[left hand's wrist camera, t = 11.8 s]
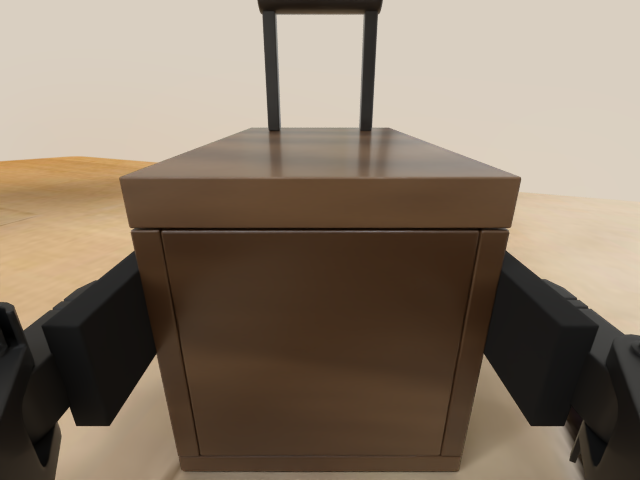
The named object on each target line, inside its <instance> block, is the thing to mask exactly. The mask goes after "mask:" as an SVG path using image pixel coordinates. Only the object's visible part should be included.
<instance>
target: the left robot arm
mask: <svg viewBox="0 0 640 480" xmlns="http://www.w3.org/2000/svg"><path fill="white" fill-rule="evenodd" d="M156 354H157V353H156V348H155V343H154V339H153V334H152V329H151V324H150V320H149V315H148V310H147V306H146V301H145V296H144V291H143V287H142V282H141V277H140V273H139V269H138V264H137V259H136V255H135V251H133V252H132V253H131V254H130V255H129V256H127V257H126V258H125V259H124V260H122V261H121V262H120V263H119V264H117V265H116V266H115V267H114V268H112V269H111V270H110V271H109V272H107V273H106V274H105V275H104V276H102V277H101V278H100V279H99V280H95V281H93V282H91V283H89V284H87V285H85V286H83V287H81V288H79V289H77V290H75V291H74V292H73V293H72V294H70V295H69V296H68V297H66V298H65V299H64V301H61V302H60V303H59V304H57V305H56V306H55V307H53V310H50V311H48V312H47V313H46V314H44V315H43V316H42V317H41V318H39V319H38V320H37V321H35V322H34V323H33V324H32V325H30V326H29V327H28V328H26V329H25V330H24V331H23V329H22V326H21V324H20V321H19V318H18V316H17V313H16V310H15V308H14V306H13V305H11V304H9V303H7V302H0V480H55V474H56V468H57V462H58V456H59V449H60V443H61V431H60V427H59V425H58V422H57V421H58V420H59V419H60V418H61V416H62V415H63V414H64V413H65V412H66V410H67V409H68V408H69V407H70V409H71V412H72V415H73V418H74V421H75V424H76V426H110V425H111V423H112V421H113V420H114V418H115V417H116V415H117V414H118V412H119V411H120V409H121V408H122V406H123V404H124V403H125V401H126V400H127V398H128V397H129V395H130V394H131V392H132V391H133V389H134V387H135V386H136V384H137V383H138V381H139V380H140V378H141V377H142V375H143V374H144V372H145V370H146V369H147V367H148V366H149V364H150V363H151V361H152V360H153V358H154V357H155V355H156ZM484 354H485V356H486V358H487V359H488V361H489V362H490V364H491V365H492V367H493V368H494V370H495V371H496V373H497V375H498V376H499V378H500V379H501V381H502V382H503V384H504V385H505V387H506V388H507V390H508V391H509V393H510V395H511V396H512V398H513V399H514V401H515V402H516V404H517V405H518V407H519V408H520V410H521V412H522V413H523V415H524V416H525V418H526V419H527V421H528V422H529V424H530V425H531V426H564V425H565V422H566V419H567V416H568V414H569V411H570V408H571V405H572V407H573V408H574V409H575V410H576V411H577V413H578V414H579V415H580V416H581V418H582V419H583V422H582V425H581V427H580V430H579V433H578V435H577V438H576V441H575V443H574V446H573V449H572V451H571V455H570V460H569V461H571V462H574V463H576V460H577V458H578V455H580V454H582V461H583V467H584V473H585V479H586V480H640V336H638V335H632V334H630V335H624V334H623V333H622V332H620V331H619V330H618V329H617V328H615V327H614V326H613V325H611V324H610V323H609V322H607V321H606V320H605V319H604V318H602V317H601V316H600V315H598V314H597V313H596V312H594V311H593V310H592V309H588V306H587V305H585V304H584V303H583V302H581V301H580V300H577V298H576V297H575V296H574V295H572V294H571V293H570V292H568V291H567V290H566V289H564V288H563V287H561V286H559V285H556V284H554V283H552V282H550V281H548V280H546V279H540V278H539V277H538V276H537V275H536V274H534V273H533V272H532V271H531V270H529V269H528V268H527V267H526V266H524V265H523V264H522V263H521V262H519V261H518V260H517V259H516V258H514V257H513V256H512V255H511V254H509V253H508V252H507V251H505V255H504V260H503V265H502V269H501V274H500V279H499V283H498V288H497V293H496V297H495V302H494V307H493V311H492V316H491V321H490V326H489V330H488V335H487V340H486V344H485V349H484Z"/></svg>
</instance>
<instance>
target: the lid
mask: <svg viewBox="0 0 640 480" xmlns="http://www.w3.org/2000/svg"><path fill="white" fill-rule="evenodd" d="M382 2H383V0H258V6H259V10H260V13H261V14H263V33H264V52H265V72H266V91H267V110H268V128H250V129H247V130H244V131H242V132H239V133H236V134H234V135H231V136H228V137H226V138H223V139H220V140H218V141H215V142H212V143H210V144H207V145H204V146H202V147H199V148H196V149H194V150H191V151H188V152H186V153H183V154H180V155H178V156H175V157H172V158H170V159H167V160H164V161H162V162H159V163H156V164H154V165H151V166H148V167H146V168H143V169H140V170H138V171H135V172H132V173H130V174H127V175H124V176H122V177H120V179H119V180H120V184H121V189H122V194H123V198H124V203H125V208H126V213H127V217H128V222H129V227H130V228H510V227H511V224H512V220H513V215H514V210H515V206H516V201H517V196H518V192H519V187H520V182H521V177H519V176H516V175H513V174H511V173H508V172H505V171H503V170H500V169H497V168H495V167H492V166H489V165H487V164H484V163H481V162H479V161H476V160H473V159H471V158H468V157H465V156H463V155H460V154H457V153H455V152H452V151H449V150H447V149H444V148H441V147H439V146H436V145H433V144H431V143H428V142H425V141H423V140H420V139H417V138H415V137H412V136H409V135H407V134H404V133H401V132H399V131H396V130H393V129H391V128H372V115H373V97H374V78H375V58H376V39H377V20H378V14H379V13H380V11H381V7H382ZM276 14H364V24H363V49H362V74H361V99H360V124H359V128H281V120H280V94H279V69H278V43H277V18H276Z"/></svg>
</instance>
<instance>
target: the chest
mask: <svg viewBox="0 0 640 480" xmlns="http://www.w3.org/2000/svg"><path fill="white" fill-rule="evenodd" d="M131 236H132V241H133V245H134V250H135V255H136V259H137V264H138V269H139V273H140V277H141V282H142V287H143V291H144V296H145V301H146V306H147V310H148V315H149V320H150V324H151V329H152V334H153V339H154V343H155V348H156V353H157V358H158V363H159V368H160V372H161V377H162V382H163V386H164V391H165V396H166V401H167V405H168V410H169V415H170V419H171V424H172V429H173V433H174V438H175V443H176V448H177V452H178V456H179V460H180V465H181V469H182V470H183V471H458V470H459V466H460V462H461V455H462V453H463V448H464V443H465V439H466V434H467V429H468V424H469V420H470V415H471V410H472V406H473V401H474V396H475V392H476V387H477V382H478V377H479V373H480V368H481V363H482V359H483V354H484V349H485V344H486V340H487V335H488V330H489V326H490V321H491V316H492V311H493V307H494V302H495V297H496V293H497V288H498V283H499V279H500V274H501V269H502V265H503V260H504V255H505V251H506V246H507V241H508V237H509V230H507V229H506V228H134V229H133V230H131Z"/></svg>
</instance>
